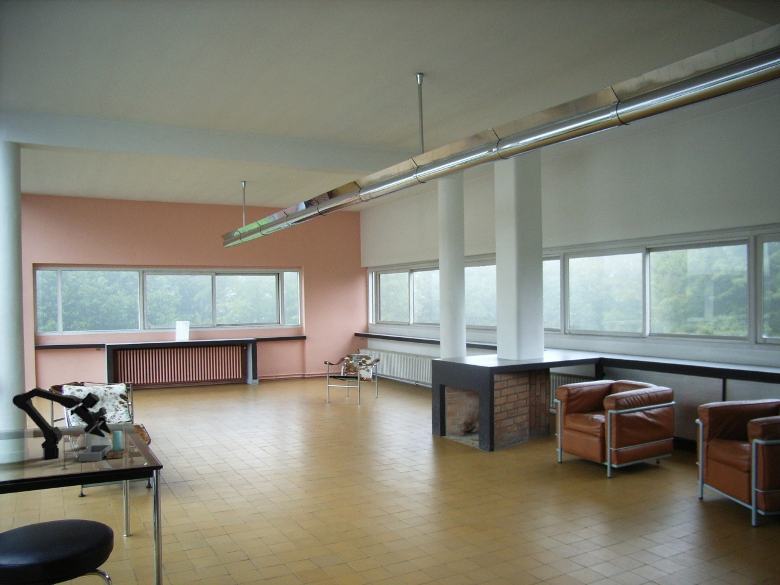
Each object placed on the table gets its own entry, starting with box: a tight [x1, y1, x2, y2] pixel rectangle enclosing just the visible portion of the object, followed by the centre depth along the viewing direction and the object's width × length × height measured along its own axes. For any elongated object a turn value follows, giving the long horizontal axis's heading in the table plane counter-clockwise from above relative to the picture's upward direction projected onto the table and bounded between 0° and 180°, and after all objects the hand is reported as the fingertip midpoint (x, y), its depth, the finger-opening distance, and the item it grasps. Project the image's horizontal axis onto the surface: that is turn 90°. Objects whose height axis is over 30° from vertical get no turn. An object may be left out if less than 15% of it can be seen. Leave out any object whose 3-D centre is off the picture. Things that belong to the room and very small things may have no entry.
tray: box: [78, 444, 112, 462], centre depth 329 cm, size 11×18×4 cm, turn 7°
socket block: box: [106, 447, 129, 459], centre depth 330 cm, size 8×8×3 cm
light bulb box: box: [84, 430, 110, 448], centre depth 350 cm, size 11×7×11 cm, turn 146°
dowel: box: [112, 430, 123, 452], centre depth 330 cm, size 4×4×13 cm
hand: (107, 434), depth 330 cm, fingers open, 9 cm apart
